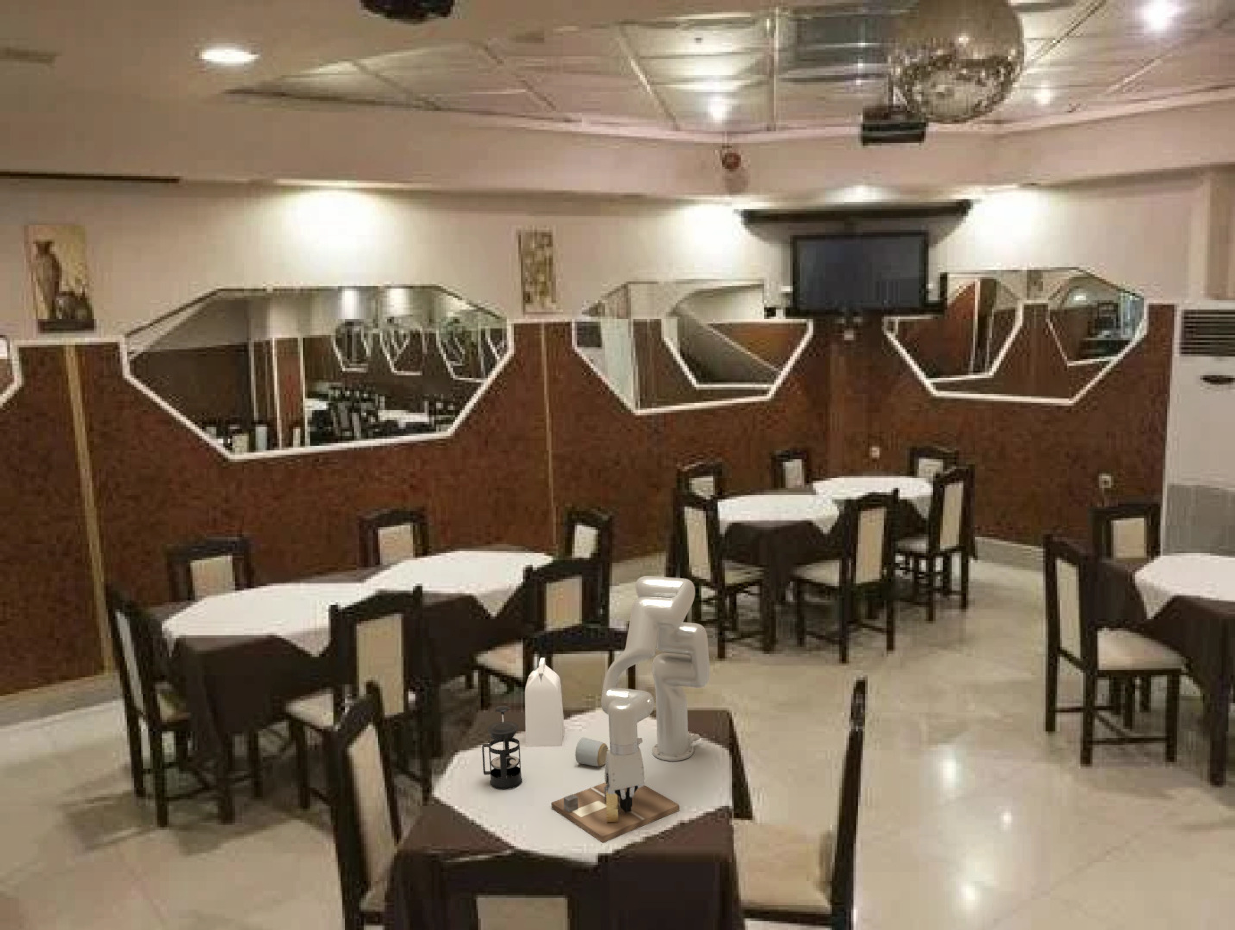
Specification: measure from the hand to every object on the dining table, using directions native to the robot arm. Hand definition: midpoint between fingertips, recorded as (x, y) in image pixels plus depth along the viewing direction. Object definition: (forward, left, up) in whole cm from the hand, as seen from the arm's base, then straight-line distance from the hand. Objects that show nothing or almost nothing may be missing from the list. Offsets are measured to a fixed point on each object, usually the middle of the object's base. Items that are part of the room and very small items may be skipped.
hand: (626, 809), depth 275 cm
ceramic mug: (-13, -34, -3) cm, 36 cm away
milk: (-12, -58, -3) cm, 59 cm away
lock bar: (+2, -4, -1) cm, 4 cm away
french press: (+14, -40, -3) cm, 43 cm away
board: (-1, -6, -2) cm, 6 cm away
